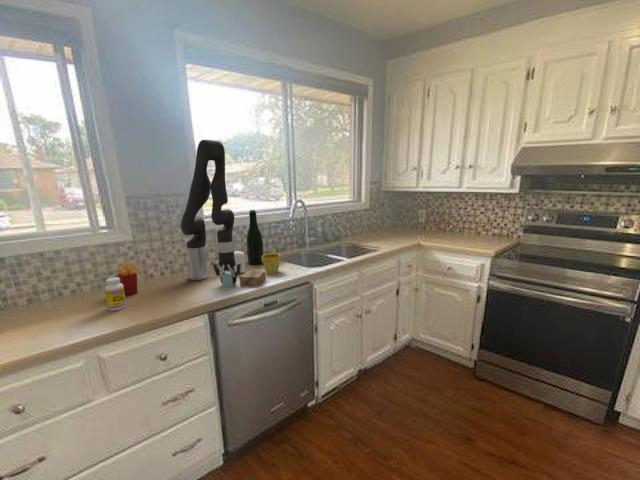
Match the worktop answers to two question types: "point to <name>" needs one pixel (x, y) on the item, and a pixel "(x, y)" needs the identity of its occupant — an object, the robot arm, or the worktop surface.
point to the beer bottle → (254, 241)
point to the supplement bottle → (115, 294)
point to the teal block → (227, 279)
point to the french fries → (128, 279)
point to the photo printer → (239, 261)
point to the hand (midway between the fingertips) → (229, 283)
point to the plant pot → (271, 263)
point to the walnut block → (252, 278)
